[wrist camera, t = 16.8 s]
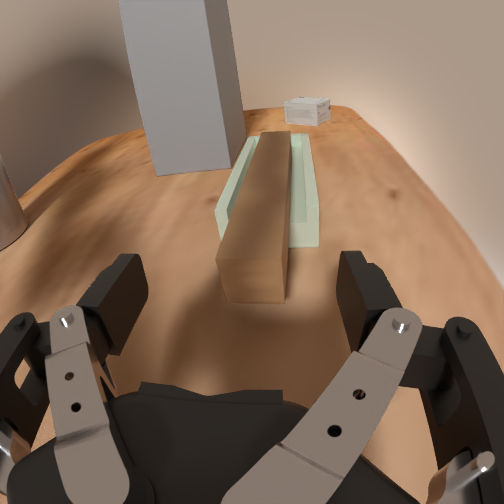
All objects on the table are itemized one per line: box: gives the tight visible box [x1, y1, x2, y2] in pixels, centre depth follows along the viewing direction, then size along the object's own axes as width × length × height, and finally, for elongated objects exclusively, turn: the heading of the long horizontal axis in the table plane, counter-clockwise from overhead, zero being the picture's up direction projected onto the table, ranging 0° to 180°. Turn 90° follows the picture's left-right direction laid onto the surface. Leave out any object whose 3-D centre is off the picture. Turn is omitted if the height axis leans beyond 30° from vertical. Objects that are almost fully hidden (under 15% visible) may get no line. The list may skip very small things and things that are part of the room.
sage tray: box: [215, 133, 319, 248], centre depth 33 cm, size 8×21×4 cm, turn 173°
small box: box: [284, 97, 331, 126], centre depth 59 cm, size 8×8×5 cm
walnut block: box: [215, 131, 292, 304], centre depth 26 cm, size 4×24×4 cm, turn 173°
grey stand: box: [119, 0, 247, 176], centre depth 39 cm, size 12×16×34 cm
